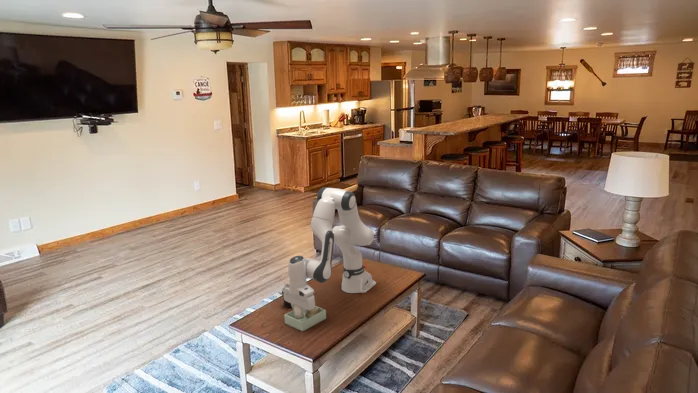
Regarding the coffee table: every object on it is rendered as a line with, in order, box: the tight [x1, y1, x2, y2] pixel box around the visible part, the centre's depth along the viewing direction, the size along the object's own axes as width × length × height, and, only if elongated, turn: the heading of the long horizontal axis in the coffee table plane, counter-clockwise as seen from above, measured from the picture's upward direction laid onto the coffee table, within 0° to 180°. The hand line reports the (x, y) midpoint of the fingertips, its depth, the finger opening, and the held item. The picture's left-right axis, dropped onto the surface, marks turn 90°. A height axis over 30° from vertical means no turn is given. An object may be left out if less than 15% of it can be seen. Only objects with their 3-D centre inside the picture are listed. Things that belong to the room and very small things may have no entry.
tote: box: [283, 305, 327, 332], centre depth 249 cm, size 17×13×5 cm
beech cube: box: [305, 306, 319, 318], centre depth 253 cm, size 5×5×5 cm
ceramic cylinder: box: [294, 305, 304, 319], centre depth 245 cm, size 5×5×7 cm
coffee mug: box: [281, 287, 293, 309], centre depth 267 cm, size 12×9×10 cm
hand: (299, 312), depth 245 cm, fingers closed on ceramic cylinder, 5 cm apart
